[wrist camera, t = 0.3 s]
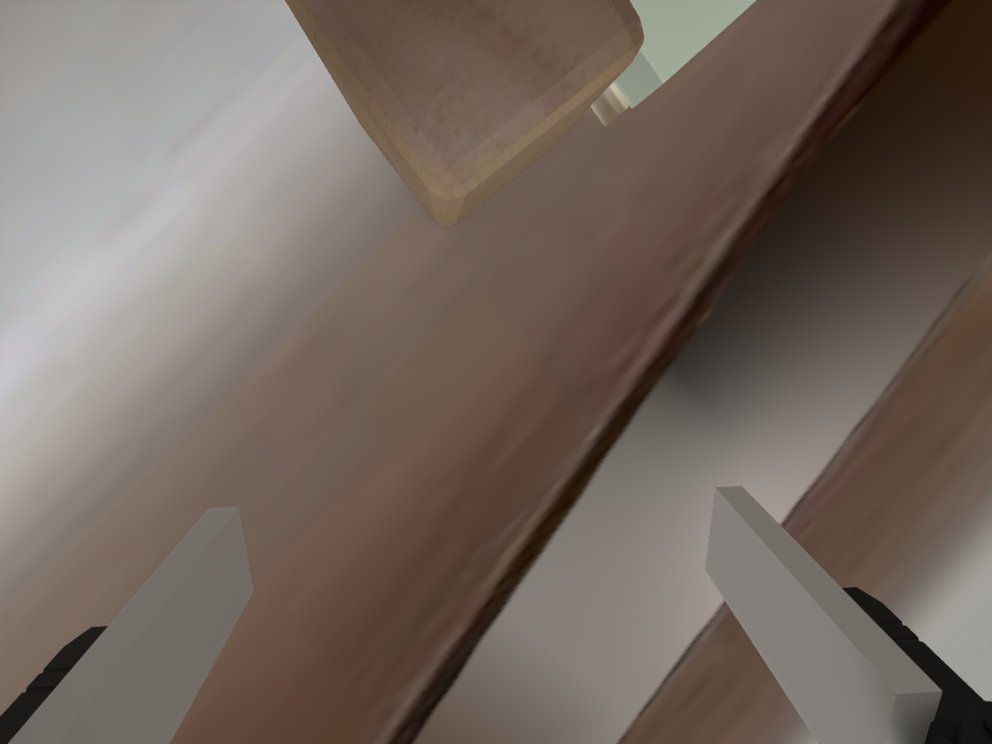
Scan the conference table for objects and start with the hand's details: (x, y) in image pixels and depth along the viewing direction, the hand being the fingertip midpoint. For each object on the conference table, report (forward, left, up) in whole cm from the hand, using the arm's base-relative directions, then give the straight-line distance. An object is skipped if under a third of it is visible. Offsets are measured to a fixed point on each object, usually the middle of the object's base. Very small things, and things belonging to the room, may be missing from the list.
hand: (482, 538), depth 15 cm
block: (-16, +3, -27) cm, 32 cm away
